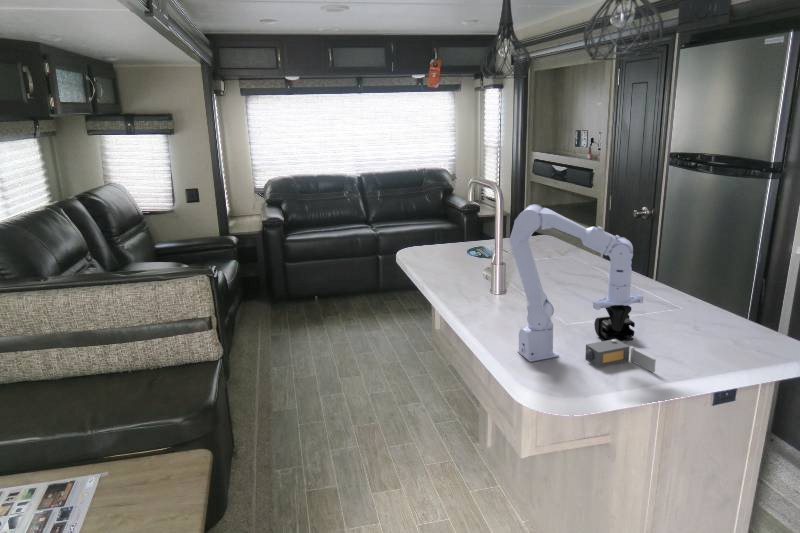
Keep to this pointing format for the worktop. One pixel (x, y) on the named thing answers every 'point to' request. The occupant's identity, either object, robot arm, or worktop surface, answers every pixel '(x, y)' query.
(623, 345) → the camera case
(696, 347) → the worktop surface
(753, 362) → the worktop surface
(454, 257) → the worktop surface
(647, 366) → the side cover
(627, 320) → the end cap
